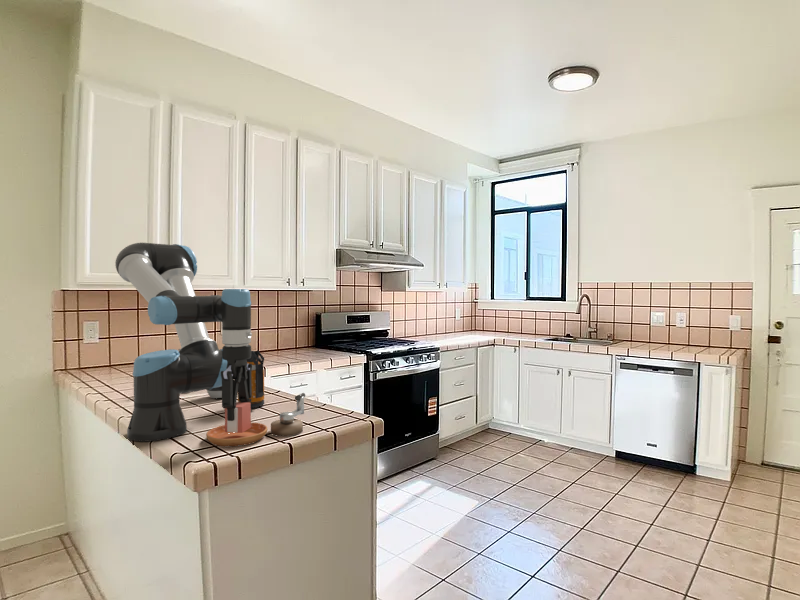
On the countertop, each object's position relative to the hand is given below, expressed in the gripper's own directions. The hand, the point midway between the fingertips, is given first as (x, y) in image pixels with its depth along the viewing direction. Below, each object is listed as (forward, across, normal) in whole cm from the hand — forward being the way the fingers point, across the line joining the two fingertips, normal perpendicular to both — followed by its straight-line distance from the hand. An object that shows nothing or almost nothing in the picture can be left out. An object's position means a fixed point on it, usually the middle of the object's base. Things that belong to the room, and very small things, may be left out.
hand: (237, 428), depth 131 cm
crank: (0, +12, -12) cm, 17 cm away
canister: (+3, +34, +12) cm, 36 cm away
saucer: (+4, 0, 0) cm, 4 cm away
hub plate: (+3, +8, -11) cm, 14 cm away
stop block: (0, 0, 0) cm, 0 cm away
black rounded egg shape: (+3, +46, +31) cm, 56 cm away
